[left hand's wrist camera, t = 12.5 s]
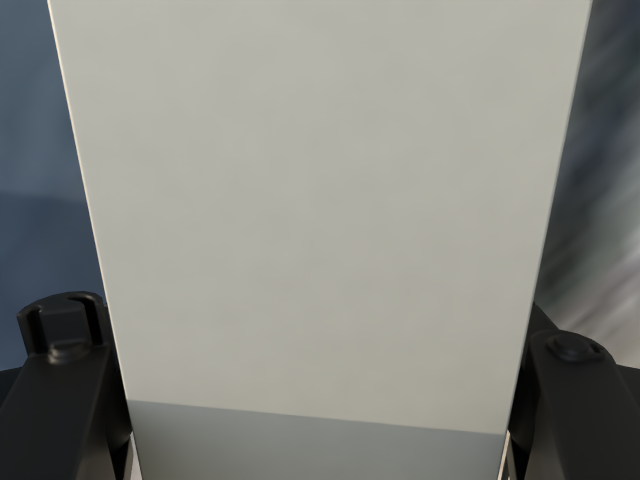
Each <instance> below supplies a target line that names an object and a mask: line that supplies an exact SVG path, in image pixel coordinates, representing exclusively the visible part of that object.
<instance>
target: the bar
mask: <svg viewBox="0 0 640 480" xmlns="http://www.w3.org/2000/svg"><path fill="white" fill-rule="evenodd" d="M47 1H48V7H49V12H50V17H51V22H52V27H53V32H54V37H55V42H56V47H57V52H58V57H59V62H60V67H61V72H62V77H63V82H64V87H65V92H66V97H67V102H68V107H69V112H70V117H71V122H72V128H73V133H74V138H75V143H76V148H77V153H78V158H79V163H80V168H81V173H82V178H83V183H84V188H85V193H86V198H87V203H88V208H89V213H90V218H91V223H92V228H93V233H94V238H95V243H96V248H97V254H98V259H99V264H100V269H101V274H102V279H103V284H104V289H105V294H106V299H107V304H108V309H109V314H110V319H111V324H112V329H113V334H114V339H115V344H116V349H117V354H118V359H119V364H120V369H121V375H122V380H123V385H124V390H125V395H126V400H127V405H128V410H129V415H130V420H131V425H132V430H133V435H134V440H135V445H136V450H137V455H138V460H139V465H140V470H141V475H142V480H497V479H498V474H499V469H500V464H501V459H502V454H503V449H504V444H505V439H506V434H507V429H508V424H509V419H510V414H511V409H512V404H513V399H514V394H515V389H516V384H517V379H518V374H519V369H520V364H521V359H522V354H523V349H524V344H525V339H526V334H527V329H528V324H529V319H530V314H531V309H532V304H533V299H534V294H535V288H536V283H537V278H538V273H539V268H540V263H541V258H542V253H543V248H544V243H545V238H546V233H547V228H548V223H549V218H550V213H551V208H552V203H553V198H554V193H555V188H556V183H557V178H558V173H559V168H560V163H561V158H562V153H563V148H564V143H565V138H566V133H567V128H568V123H569V118H570V113H571V108H572V103H573V98H574V92H575V87H576V82H577V77H578V72H579V67H580V62H581V57H582V52H583V47H584V42H585V37H586V32H587V27H588V22H589V17H590V12H591V7H592V2H593V0H47Z"/></svg>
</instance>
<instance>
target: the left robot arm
mask: <svg viewBox="0 0 640 480" xmlns="http://www.w3.org/2000/svg"><path fill="white" fill-rule="evenodd" d="M16 316H17V320H18V323H19V327H20V330H21V334H22V337H23V341H24V344H25V347H26V351H27V354H28V358H27V360H26V362H25V364H24V365H23V367H19V368H14V369H9V370H3V371H0V480H130V478H131V471H132V463H133V448H132V442H131V437H130V434H131V432H132V425H131V420H130V415H129V410H128V405H127V400H126V395H125V390H124V385H123V380H122V375H121V369H120V364H119V359H118V354H117V349H116V344H115V339H114V334H113V329H112V324H111V319H110V314H109V309H108V304H107V303H106V304H105V307H104V305H103V300H102V297H100V296H99V295H97V294H96V293H91V292H85V291H78V292H66V293H61V294H55V295H52V296H49V297H46V298H43V299H40V300H37V301H35V302H33V303H32V304H30V305H28V306H26V307H24V308H23V309H22V310H21V311H20V312H19V313H18V314H17V315H16ZM508 431H509V433H510V437H509V442H508V447H507V452H506V457H505V462H504V467H503V472H502V477H501V480H508V477H510V480H640V369H637V368H631V367H626V366H621V365H617V364H616V363H615V361H614V359H613V357H612V356H611V354H610V353H609V352H608V351H607V350H606V349H605V348H604V347H603V346H601V345H600V344H598V343H597V342H595V341H594V340H592V339H590V338H587V337H585V336H582V335H580V334H577V333H573V332H568V331H564V330H559V329H558V328H557V327H556V325H555V324H554V323H553V322H552V321H551V320H550V319H549V318H548V317H547V316H546V314H545V313H544V312H543V311H542V310H541V309H540V308H539V307H538V306H537V305H535V302H534V301H533V304H532V309H531V314H530V319H529V324H528V329H527V334H526V339H525V344H524V349H523V354H522V359H521V364H520V369H519V374H518V379H517V384H516V389H515V394H514V399H513V404H512V409H511V414H510V419H509V424H508Z"/></svg>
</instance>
